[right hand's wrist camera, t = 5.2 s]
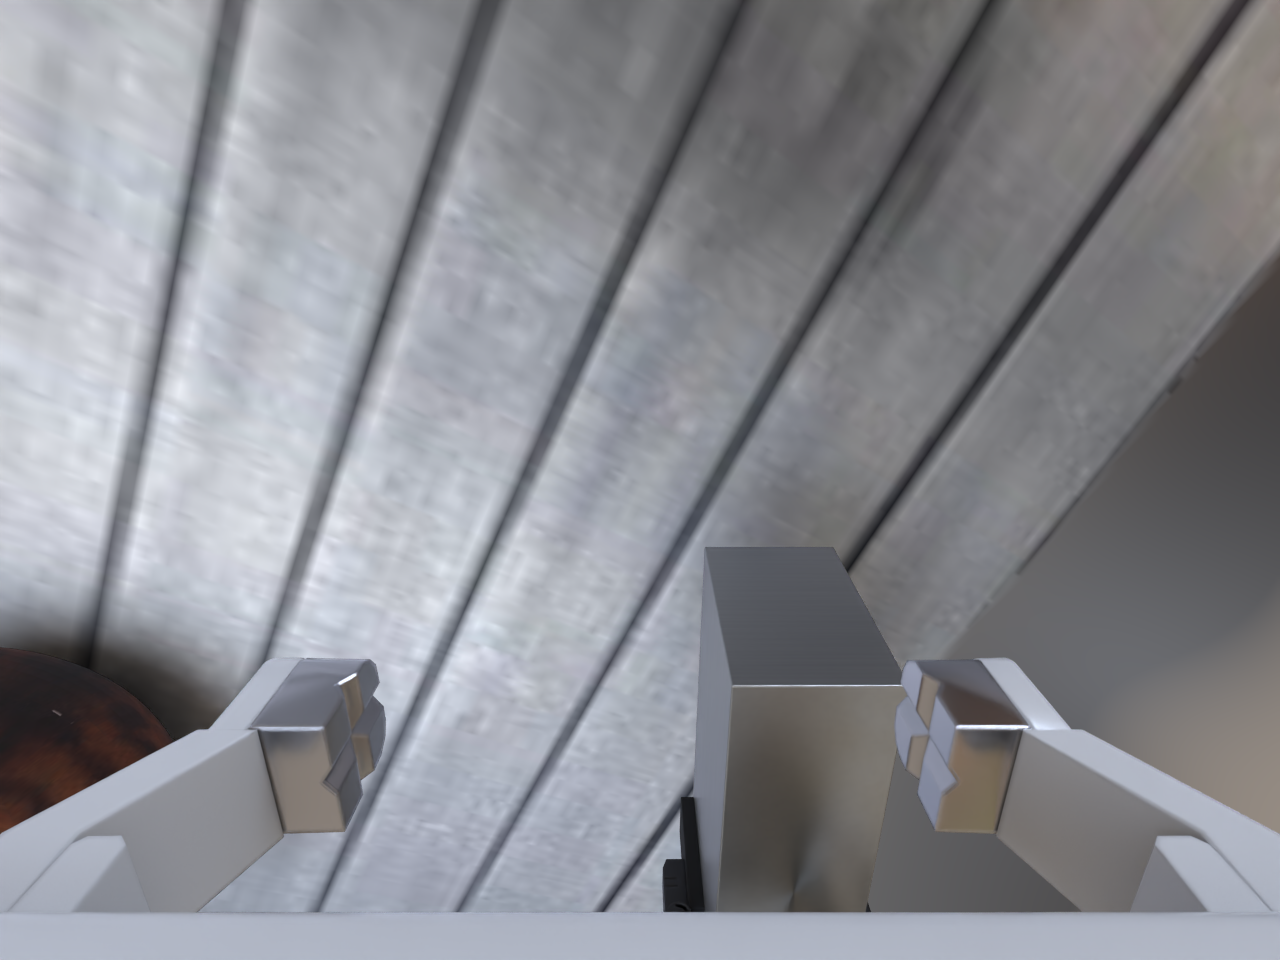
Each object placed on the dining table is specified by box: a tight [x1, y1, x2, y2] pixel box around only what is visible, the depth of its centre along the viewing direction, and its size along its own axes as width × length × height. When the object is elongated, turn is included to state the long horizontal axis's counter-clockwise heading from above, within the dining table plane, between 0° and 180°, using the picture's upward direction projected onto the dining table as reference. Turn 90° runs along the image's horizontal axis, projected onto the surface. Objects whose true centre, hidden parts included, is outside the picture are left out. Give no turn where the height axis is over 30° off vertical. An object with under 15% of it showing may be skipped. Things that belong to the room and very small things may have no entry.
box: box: [693, 547, 907, 912], centre depth 33 cm, size 21×6×10 cm, turn 0°
